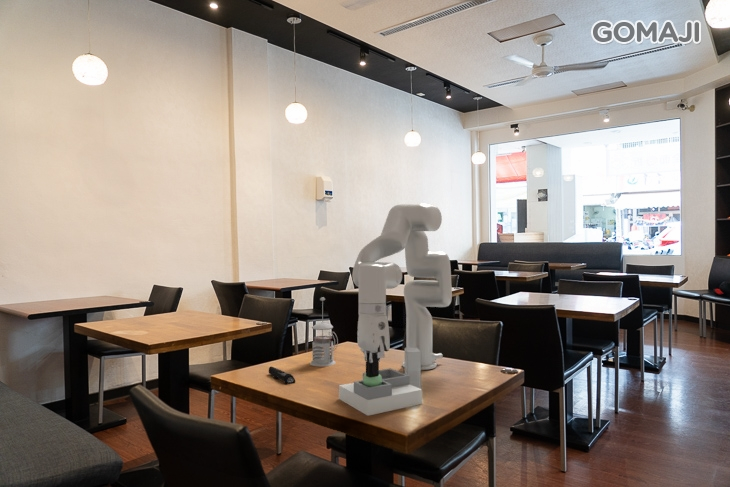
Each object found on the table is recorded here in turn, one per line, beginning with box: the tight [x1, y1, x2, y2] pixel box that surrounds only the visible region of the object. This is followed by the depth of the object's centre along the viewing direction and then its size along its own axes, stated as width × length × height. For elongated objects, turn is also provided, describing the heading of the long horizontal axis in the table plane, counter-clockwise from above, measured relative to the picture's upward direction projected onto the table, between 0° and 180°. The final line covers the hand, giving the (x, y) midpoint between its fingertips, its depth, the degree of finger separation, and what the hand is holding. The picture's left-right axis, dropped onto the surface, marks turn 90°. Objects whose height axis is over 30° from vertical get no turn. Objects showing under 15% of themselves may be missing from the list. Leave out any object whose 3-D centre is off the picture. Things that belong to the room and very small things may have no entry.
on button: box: [362, 374, 382, 387], centre depth 133 cm, size 5×5×3 cm
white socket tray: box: [338, 367, 423, 416], centre depth 139 cm, size 18×16×7 cm
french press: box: [309, 296, 339, 367], centre depth 183 cm, size 10×12×25 cm
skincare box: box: [404, 347, 422, 389], centre depth 152 cm, size 6×4×12 cm
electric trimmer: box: [268, 366, 296, 385], centre depth 163 cm, size 4×16×3 cm, turn 35°
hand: (372, 376), depth 133 cm, fingers closed
